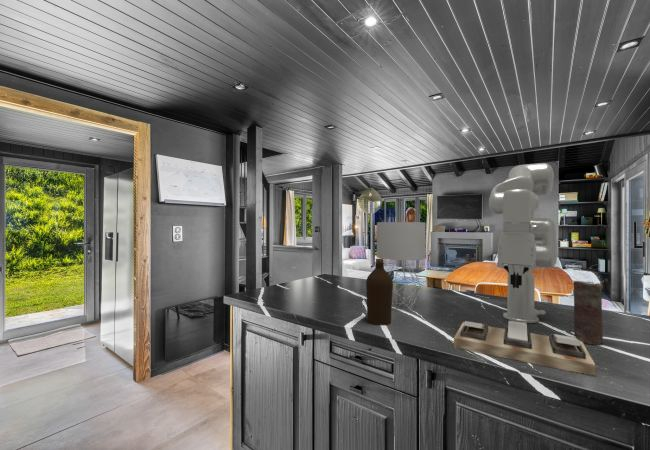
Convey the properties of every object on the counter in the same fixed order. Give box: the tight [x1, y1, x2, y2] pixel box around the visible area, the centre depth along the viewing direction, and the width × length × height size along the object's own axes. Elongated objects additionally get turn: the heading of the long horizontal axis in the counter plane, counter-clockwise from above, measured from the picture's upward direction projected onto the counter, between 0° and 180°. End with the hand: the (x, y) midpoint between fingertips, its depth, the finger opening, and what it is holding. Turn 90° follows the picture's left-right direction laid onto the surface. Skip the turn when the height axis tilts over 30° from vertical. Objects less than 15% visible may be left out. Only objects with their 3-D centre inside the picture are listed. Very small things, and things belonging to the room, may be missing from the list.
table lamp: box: [376, 221, 427, 311], centre depth 146 cm, size 22×22×40 cm
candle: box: [573, 280, 604, 345], centre depth 104 cm, size 8×7×20 cm
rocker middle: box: [507, 320, 528, 343], centre depth 96 cm, size 5×11×1 cm, turn 148°
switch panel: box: [453, 320, 596, 377], centre depth 96 cm, size 34×19×4 cm, turn 58°
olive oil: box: [365, 258, 394, 326], centre depth 123 cm, size 11×11×25 cm
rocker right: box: [553, 333, 580, 346], centre depth 90 cm, size 5×11×1 cm, turn 148°
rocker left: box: [464, 320, 486, 329], centre depth 103 cm, size 5×11×1 cm, turn 148°
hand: (516, 287), depth 96 cm, fingers closed
